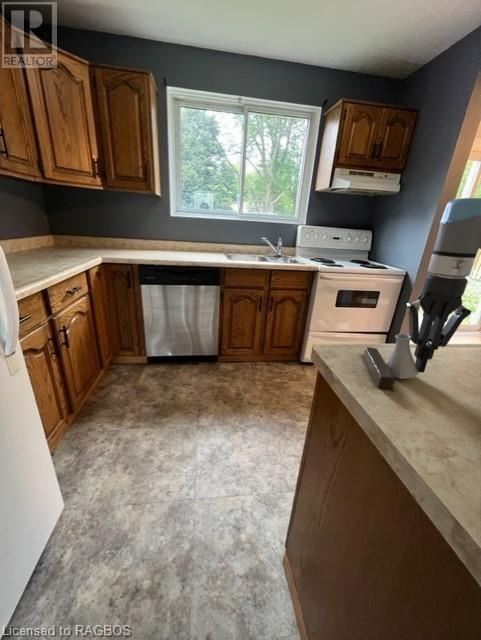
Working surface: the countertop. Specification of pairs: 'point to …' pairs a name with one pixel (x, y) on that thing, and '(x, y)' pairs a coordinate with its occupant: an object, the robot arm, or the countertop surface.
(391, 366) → the flask
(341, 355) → the countertop surface
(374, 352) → the rail
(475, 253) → the robot arm
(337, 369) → the countertop surface
